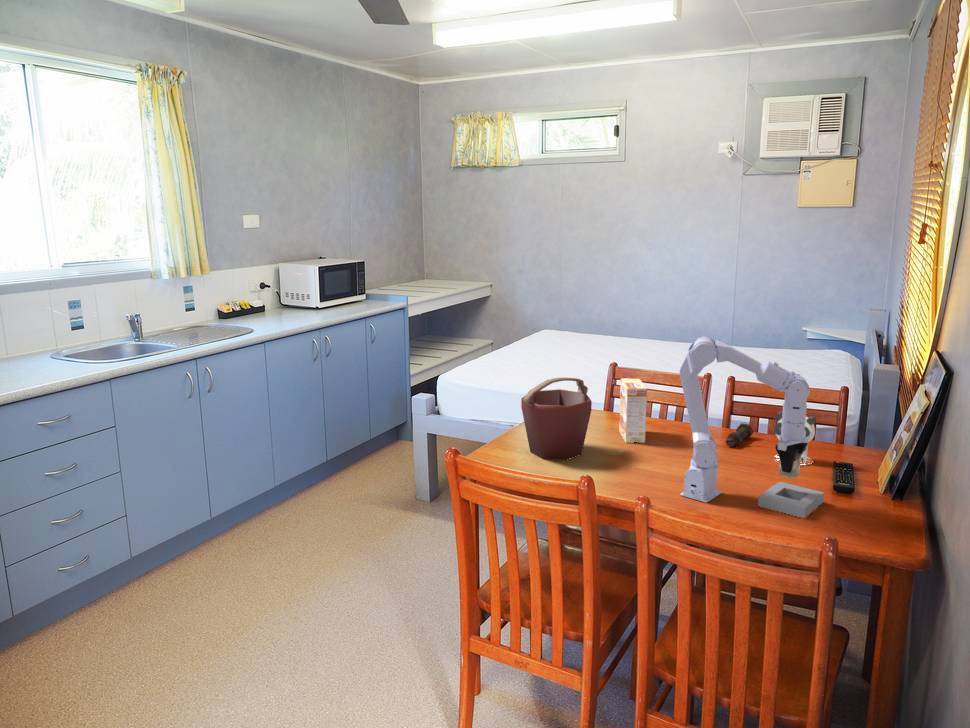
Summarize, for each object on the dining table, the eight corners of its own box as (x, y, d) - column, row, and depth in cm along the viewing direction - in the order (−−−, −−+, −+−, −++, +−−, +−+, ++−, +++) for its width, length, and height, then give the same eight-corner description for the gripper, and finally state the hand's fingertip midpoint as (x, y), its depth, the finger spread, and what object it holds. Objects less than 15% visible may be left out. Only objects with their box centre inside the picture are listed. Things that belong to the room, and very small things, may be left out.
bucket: (579, 439, 247) (580, 369, 242) (605, 459, 226) (607, 383, 221) (512, 445, 241) (512, 374, 236) (533, 467, 220) (533, 389, 215)
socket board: (804, 519, 181) (805, 508, 180) (758, 506, 189) (758, 495, 188) (823, 502, 191) (824, 492, 190) (778, 491, 199) (779, 481, 198)
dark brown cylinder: (726, 452, 237) (742, 440, 249) (740, 448, 234) (755, 435, 245) (719, 437, 238) (735, 425, 249) (732, 432, 235) (748, 420, 246)
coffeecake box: (618, 430, 257) (620, 378, 253) (638, 430, 257) (640, 378, 253) (624, 443, 242) (626, 388, 238) (645, 443, 242) (647, 388, 238)
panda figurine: (766, 460, 224) (770, 415, 221) (779, 451, 232) (782, 407, 229) (806, 469, 216) (810, 422, 213) (817, 459, 225) (821, 414, 222)
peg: (793, 479, 187) (795, 457, 186) (778, 475, 190) (780, 454, 189) (799, 475, 190) (801, 453, 189) (784, 471, 193) (785, 450, 191)
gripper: (799, 429, 179) (794, 480, 182) (819, 417, 189) (814, 465, 192) (771, 424, 184) (767, 474, 186) (792, 413, 194) (788, 460, 197)
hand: (789, 469), depth 189 cm, fingers closed on peg, 4 cm apart
